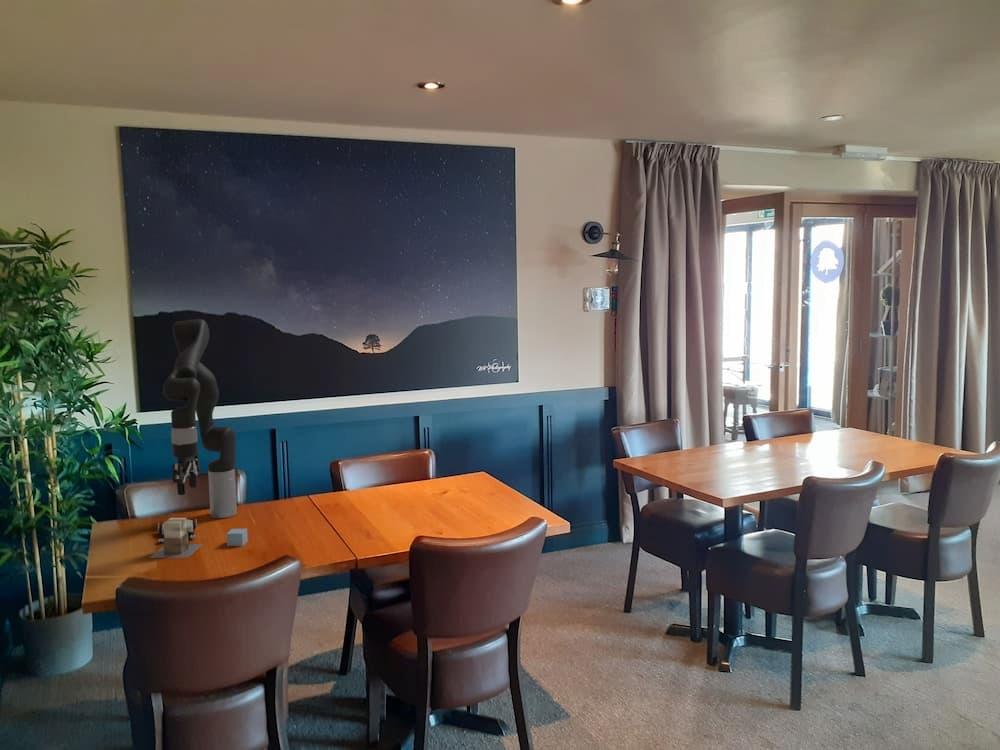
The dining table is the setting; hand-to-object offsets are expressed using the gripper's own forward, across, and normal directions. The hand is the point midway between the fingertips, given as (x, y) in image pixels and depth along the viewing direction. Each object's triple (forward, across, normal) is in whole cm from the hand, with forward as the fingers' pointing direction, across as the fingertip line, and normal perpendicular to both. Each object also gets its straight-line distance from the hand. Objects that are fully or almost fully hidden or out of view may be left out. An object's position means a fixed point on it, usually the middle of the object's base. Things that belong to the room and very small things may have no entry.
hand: (187, 490), depth 237 cm
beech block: (+14, +2, -4) cm, 15 cm away
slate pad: (+20, +2, -4) cm, 20 cm away
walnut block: (+19, +2, -4) cm, 19 cm away
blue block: (+20, -5, +13) cm, 24 cm away
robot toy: (+20, -13, -10) cm, 26 cm away
